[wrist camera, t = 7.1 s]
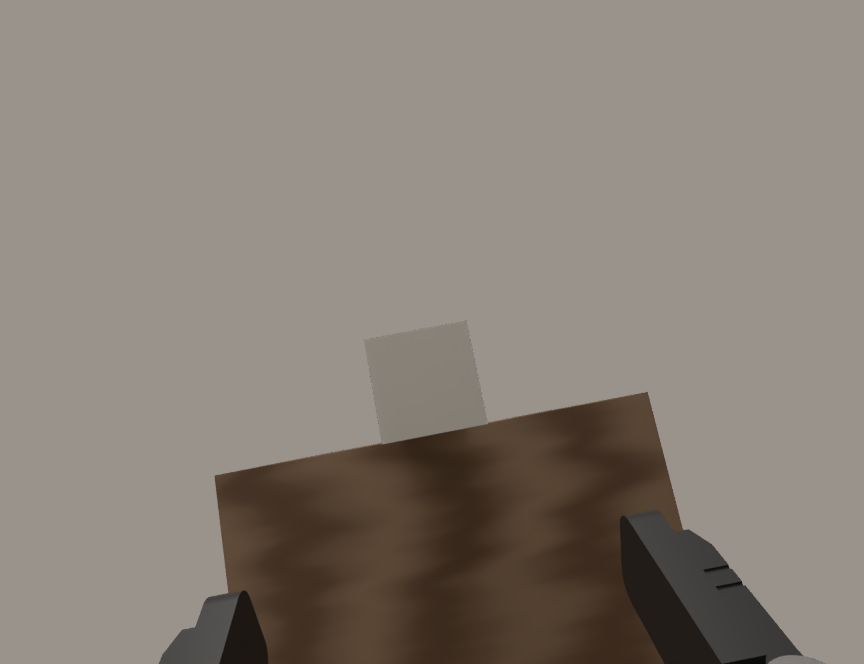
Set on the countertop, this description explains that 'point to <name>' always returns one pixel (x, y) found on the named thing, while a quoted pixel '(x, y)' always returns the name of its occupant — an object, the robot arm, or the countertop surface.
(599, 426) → the pedestal
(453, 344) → the teal-tipped white stick
